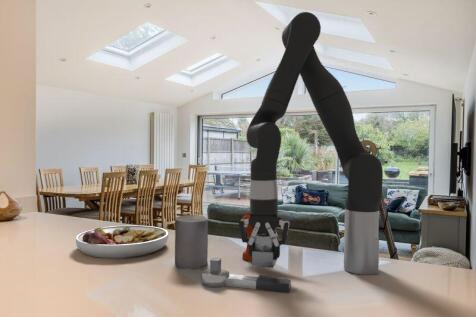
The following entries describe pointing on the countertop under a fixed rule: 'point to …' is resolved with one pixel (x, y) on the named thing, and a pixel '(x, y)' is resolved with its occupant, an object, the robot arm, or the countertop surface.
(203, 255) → the pillar candle
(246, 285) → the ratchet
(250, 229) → the toy drill
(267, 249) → the cylinder on square block
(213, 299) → the countertop surface
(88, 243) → the bowl
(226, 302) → the countertop surface
